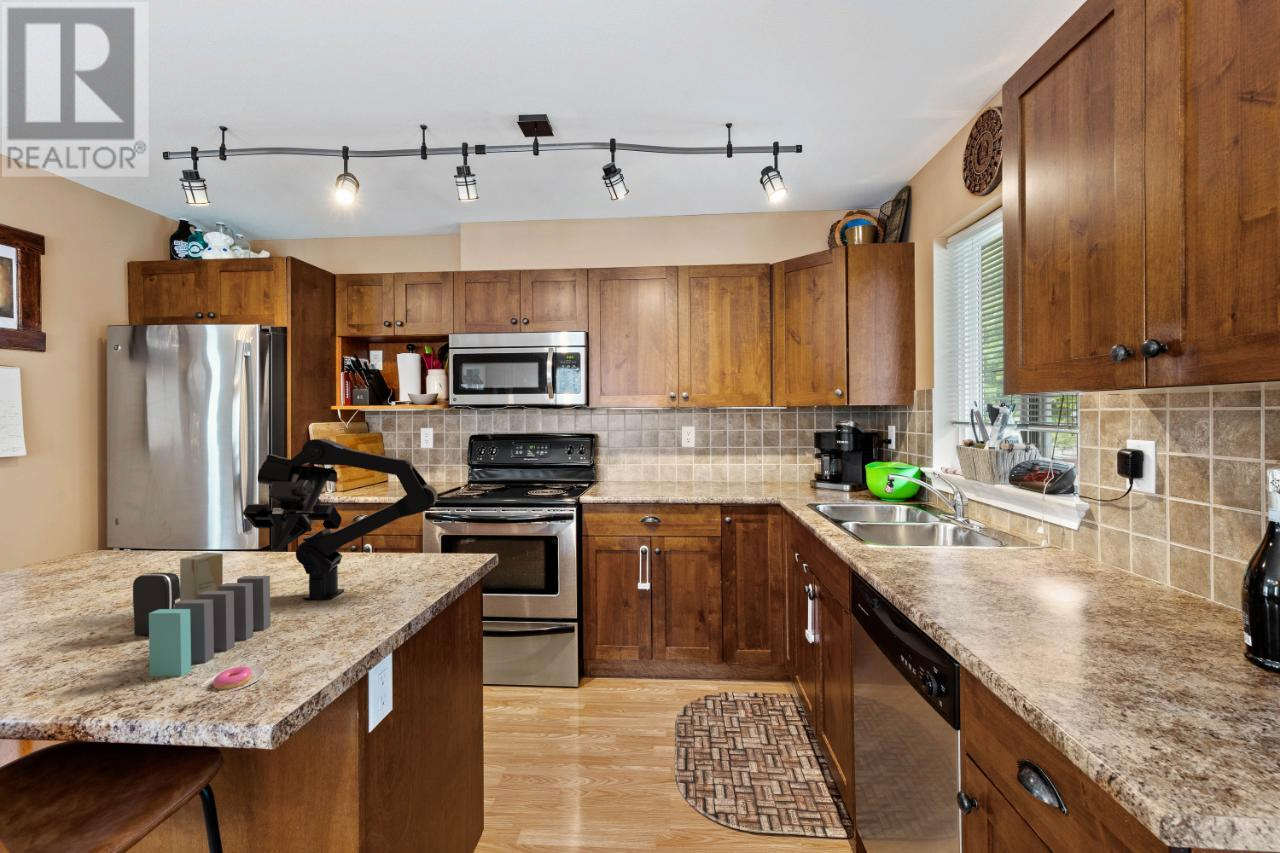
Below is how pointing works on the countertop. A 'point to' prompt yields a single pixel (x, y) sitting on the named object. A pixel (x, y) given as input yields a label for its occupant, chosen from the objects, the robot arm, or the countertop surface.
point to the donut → (236, 677)
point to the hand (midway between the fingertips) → (276, 549)
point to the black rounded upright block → (153, 597)
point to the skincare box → (200, 574)
